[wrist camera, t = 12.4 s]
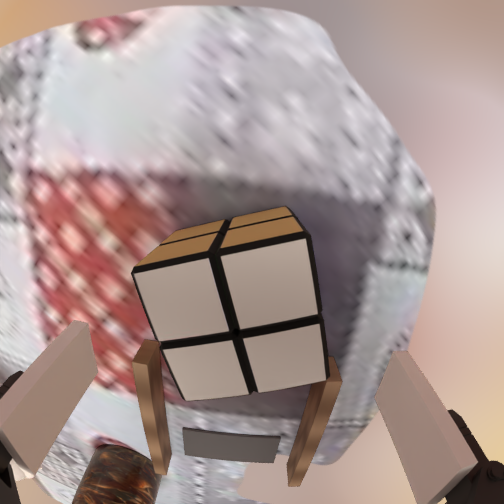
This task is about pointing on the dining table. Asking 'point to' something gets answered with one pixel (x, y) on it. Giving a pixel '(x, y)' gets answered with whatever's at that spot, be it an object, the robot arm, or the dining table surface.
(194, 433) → the pad
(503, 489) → the robot arm
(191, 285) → the puzzle cube
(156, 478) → the jar
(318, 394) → the channel
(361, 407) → the dining table surface
